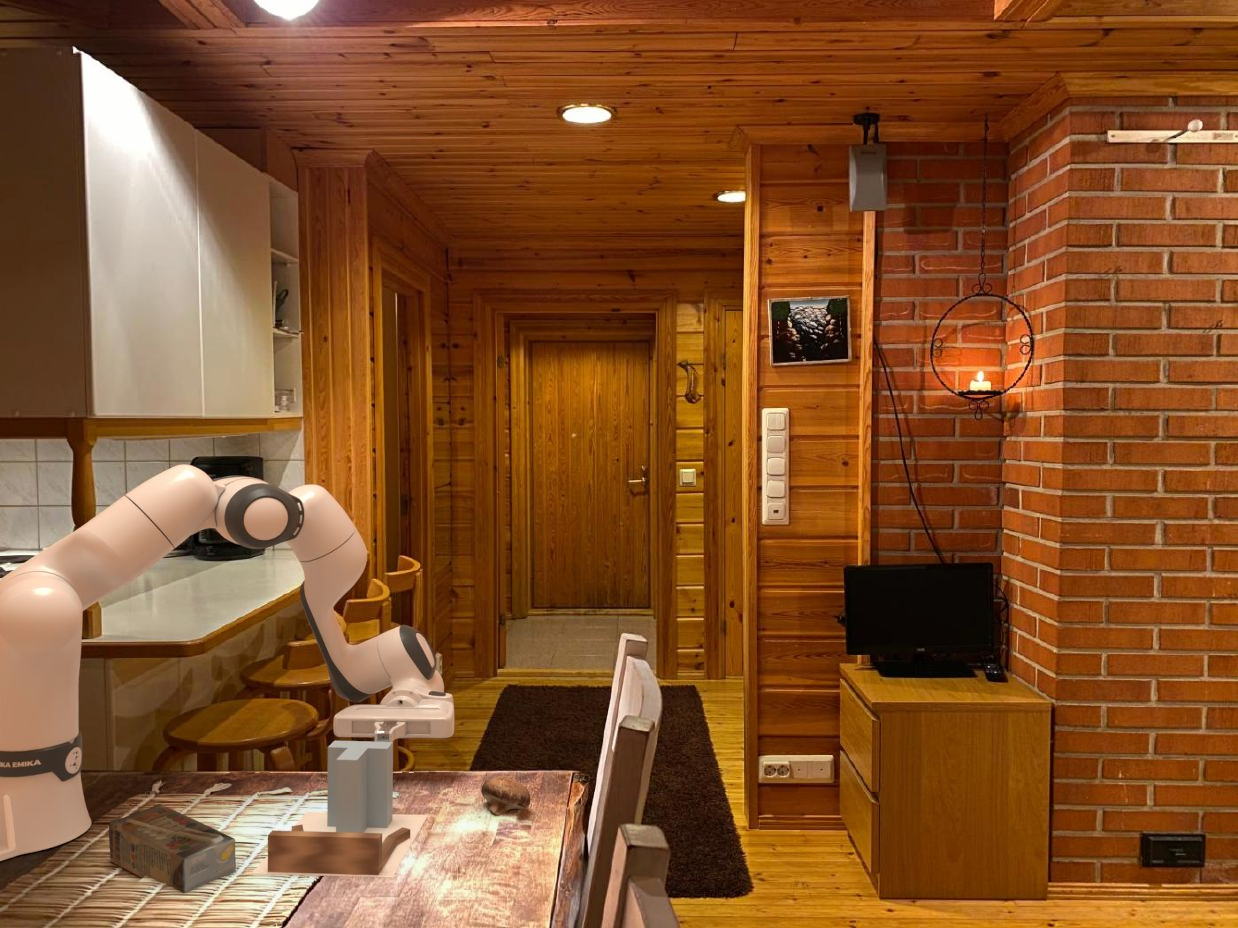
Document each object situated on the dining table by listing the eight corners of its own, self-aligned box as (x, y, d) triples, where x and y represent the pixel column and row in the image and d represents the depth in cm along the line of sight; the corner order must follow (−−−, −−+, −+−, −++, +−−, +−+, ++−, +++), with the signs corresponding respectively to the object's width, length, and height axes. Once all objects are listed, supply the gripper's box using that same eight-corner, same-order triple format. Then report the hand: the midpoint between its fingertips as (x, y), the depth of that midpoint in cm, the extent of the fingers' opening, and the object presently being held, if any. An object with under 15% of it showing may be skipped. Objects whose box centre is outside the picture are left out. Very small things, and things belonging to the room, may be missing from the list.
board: (251, 880, 122) (251, 873, 122) (306, 818, 142) (306, 811, 142) (392, 884, 121) (392, 877, 121) (427, 821, 141) (428, 814, 141)
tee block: (315, 841, 132) (315, 758, 131) (334, 817, 140) (334, 740, 139) (377, 842, 131) (377, 760, 131) (392, 819, 139) (393, 741, 139)
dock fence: (258, 871, 122) (258, 834, 122) (293, 832, 134) (293, 798, 134) (388, 875, 122) (388, 838, 122) (411, 835, 134) (411, 801, 134)
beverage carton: (182, 904, 116) (182, 853, 116) (105, 864, 126) (105, 818, 126) (238, 879, 122) (238, 832, 122) (160, 843, 133) (160, 799, 133)
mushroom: (487, 809, 138) (500, 768, 142) (465, 812, 144) (478, 773, 148) (531, 826, 141) (543, 786, 145) (508, 828, 147) (519, 790, 151)
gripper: (347, 692, 162) (319, 717, 149) (461, 693, 162) (444, 718, 148) (347, 727, 163) (320, 755, 149) (461, 728, 162) (444, 756, 148)
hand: (383, 737), depth 149 cm, fingers closed
